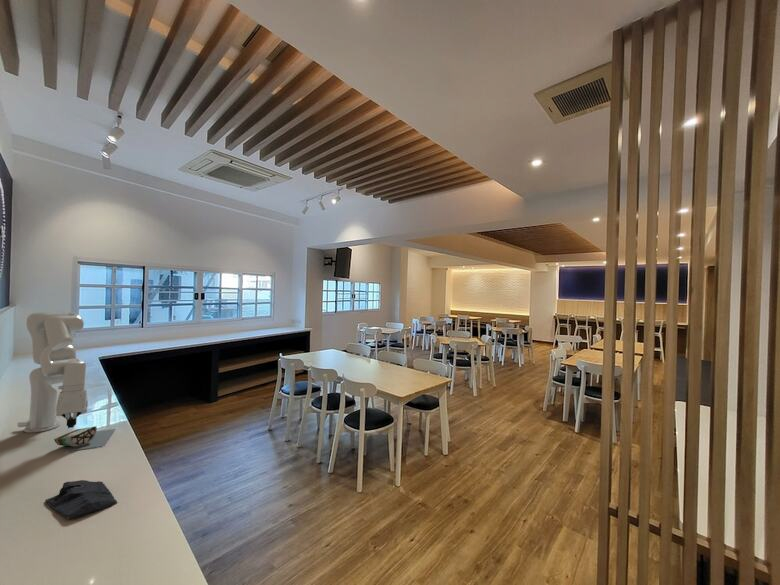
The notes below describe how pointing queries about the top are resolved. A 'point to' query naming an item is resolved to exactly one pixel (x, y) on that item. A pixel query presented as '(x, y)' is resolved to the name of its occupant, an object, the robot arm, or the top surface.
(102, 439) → the rubber mat
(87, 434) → the food container
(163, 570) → the top surface
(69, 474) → the top surface
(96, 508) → the dark slate chunk
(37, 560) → the top surface
